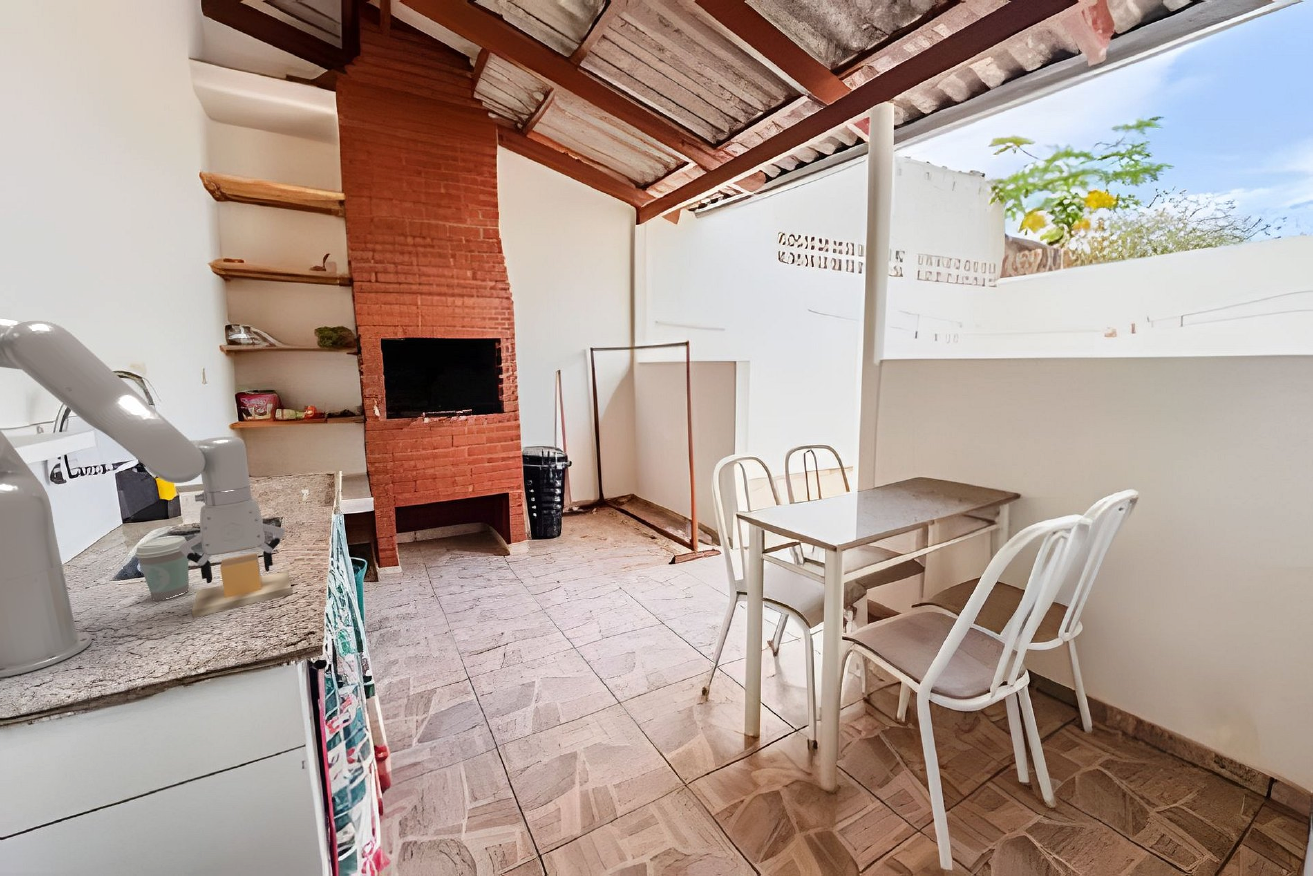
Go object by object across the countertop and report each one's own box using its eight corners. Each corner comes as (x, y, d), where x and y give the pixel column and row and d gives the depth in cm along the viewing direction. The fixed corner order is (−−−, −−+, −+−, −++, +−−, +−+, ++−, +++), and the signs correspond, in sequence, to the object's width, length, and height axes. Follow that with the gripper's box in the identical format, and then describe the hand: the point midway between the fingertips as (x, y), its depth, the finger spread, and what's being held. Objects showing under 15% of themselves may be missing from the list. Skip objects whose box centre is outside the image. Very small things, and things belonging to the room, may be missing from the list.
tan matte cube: (225, 598, 107) (220, 568, 106) (226, 588, 112) (222, 559, 111) (261, 589, 111) (257, 560, 110) (261, 580, 116) (257, 552, 115)
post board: (193, 617, 102) (188, 589, 101) (198, 597, 112) (194, 570, 111) (291, 594, 112) (288, 567, 111) (289, 576, 121) (285, 552, 120)
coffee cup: (136, 599, 112) (126, 545, 110) (186, 583, 119) (177, 533, 118) (154, 606, 108) (143, 551, 106) (204, 590, 115) (195, 538, 114)
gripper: (169, 507, 100) (182, 592, 103) (280, 493, 111) (289, 570, 113) (174, 500, 106) (187, 580, 109) (279, 487, 117) (288, 560, 119)
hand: (239, 575), depth 111 cm, fingers open, 9 cm apart
